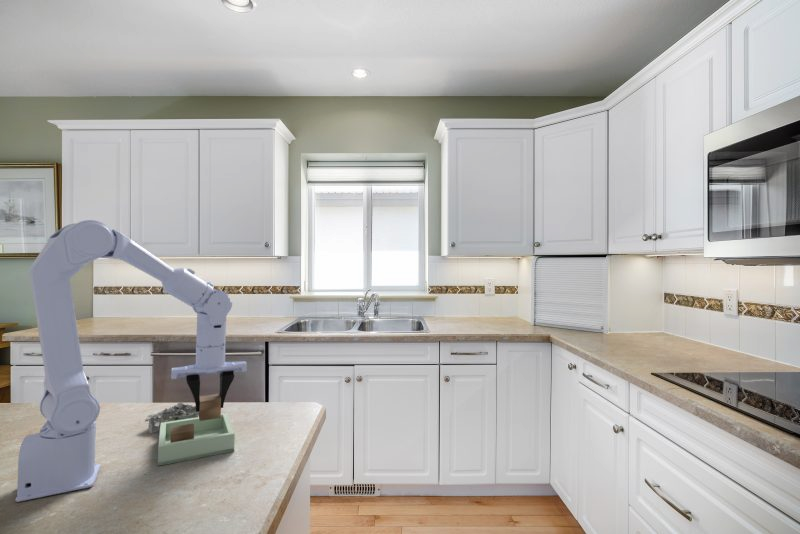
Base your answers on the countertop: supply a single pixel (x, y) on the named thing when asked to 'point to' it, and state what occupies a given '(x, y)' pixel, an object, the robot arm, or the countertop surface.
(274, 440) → the countertop surface
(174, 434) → the block
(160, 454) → the dish
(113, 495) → the countertop surface
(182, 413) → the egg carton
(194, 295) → the robot arm
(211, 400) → the block
